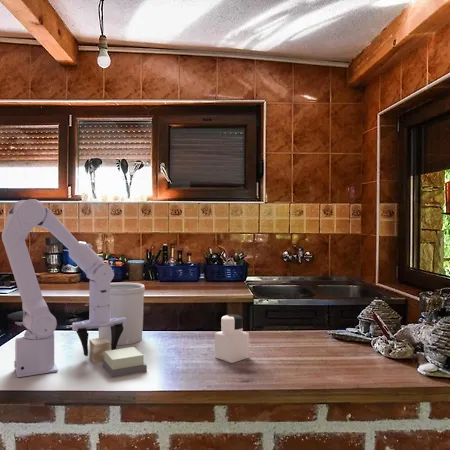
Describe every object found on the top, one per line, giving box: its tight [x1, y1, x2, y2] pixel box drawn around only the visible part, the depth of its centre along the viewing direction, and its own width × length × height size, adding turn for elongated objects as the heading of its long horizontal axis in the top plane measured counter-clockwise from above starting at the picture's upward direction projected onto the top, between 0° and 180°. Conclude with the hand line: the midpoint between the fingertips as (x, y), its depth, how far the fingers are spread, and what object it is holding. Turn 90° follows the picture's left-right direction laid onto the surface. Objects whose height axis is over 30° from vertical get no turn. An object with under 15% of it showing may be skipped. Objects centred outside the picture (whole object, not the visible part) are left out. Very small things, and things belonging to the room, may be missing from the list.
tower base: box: [102, 360, 148, 379], centre depth 116 cm, size 9×9×2 cm
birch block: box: [88, 337, 111, 364], centre depth 125 cm, size 4×6×5 cm
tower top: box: [104, 346, 145, 370], centre depth 116 cm, size 8×8×2 cm
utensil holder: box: [98, 281, 146, 346], centre depth 143 cm, size 15×15×18 cm
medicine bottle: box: [214, 313, 250, 364], centre depth 126 cm, size 7×7×12 cm
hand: (99, 353), depth 125 cm, fingers open, 7 cm apart
